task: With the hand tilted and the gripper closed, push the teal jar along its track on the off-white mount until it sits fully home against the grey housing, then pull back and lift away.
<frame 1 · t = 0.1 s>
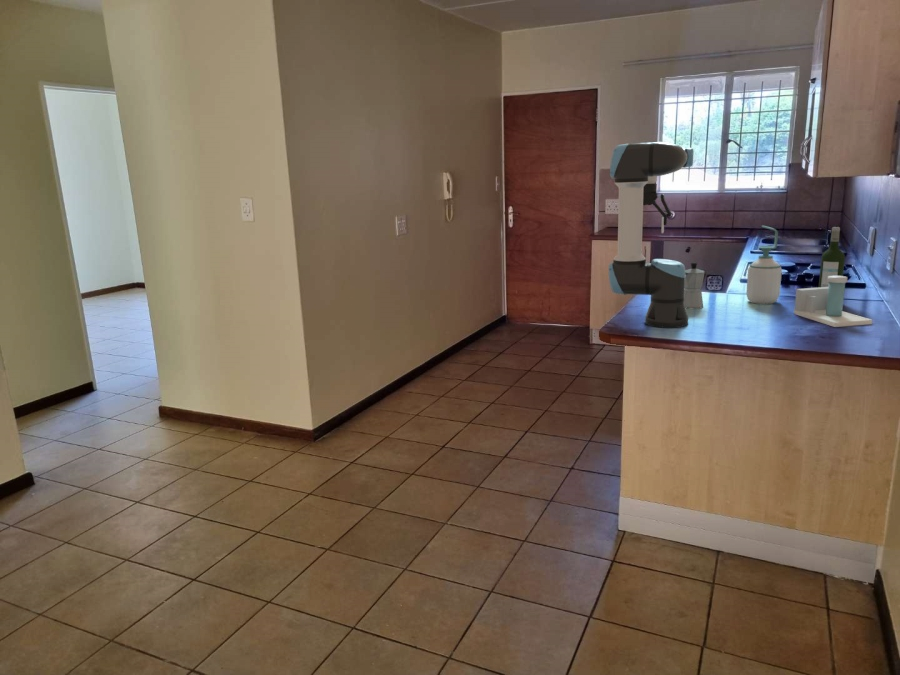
hand: (646, 233, 282), 28 cm above the countertop, tool pointing down, fingers open, 13 cm apart
mount: (833, 319, 234), on the countertop
teal jar: (835, 295, 232), point 9 cm above the countertop, slide at 0.0 cm
coffee maker: (693, 306, 266), on the countertop
soap bottle: (762, 302, 266), on the countertop
wine bottle: (828, 303, 259), on the countertop
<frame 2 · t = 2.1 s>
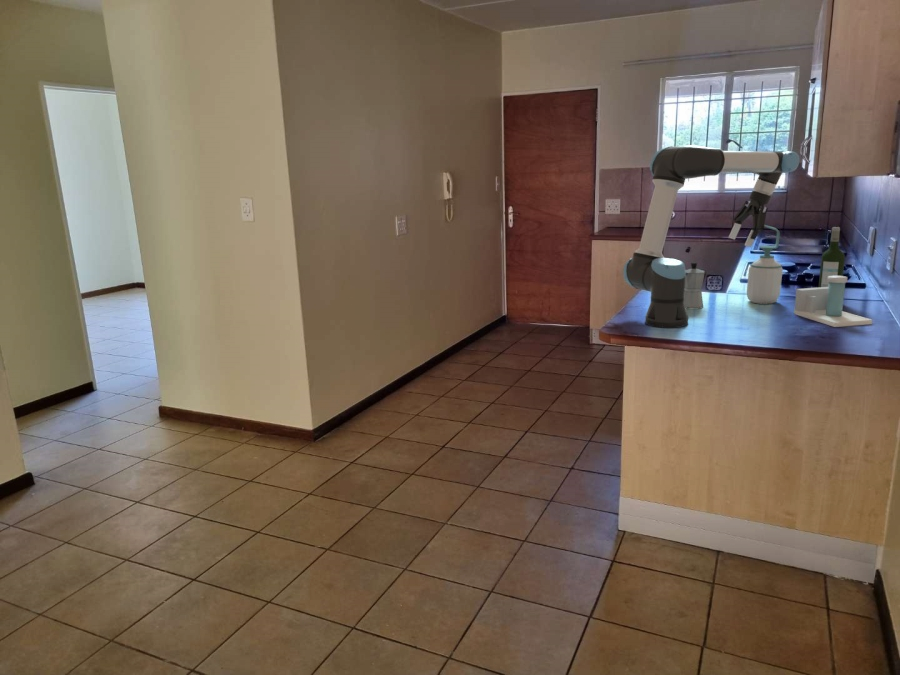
hand: (739, 242, 269), 24 cm above the countertop, tool tilted 20°, fingers open, 13 cm apart
nothing on the countertop moved.
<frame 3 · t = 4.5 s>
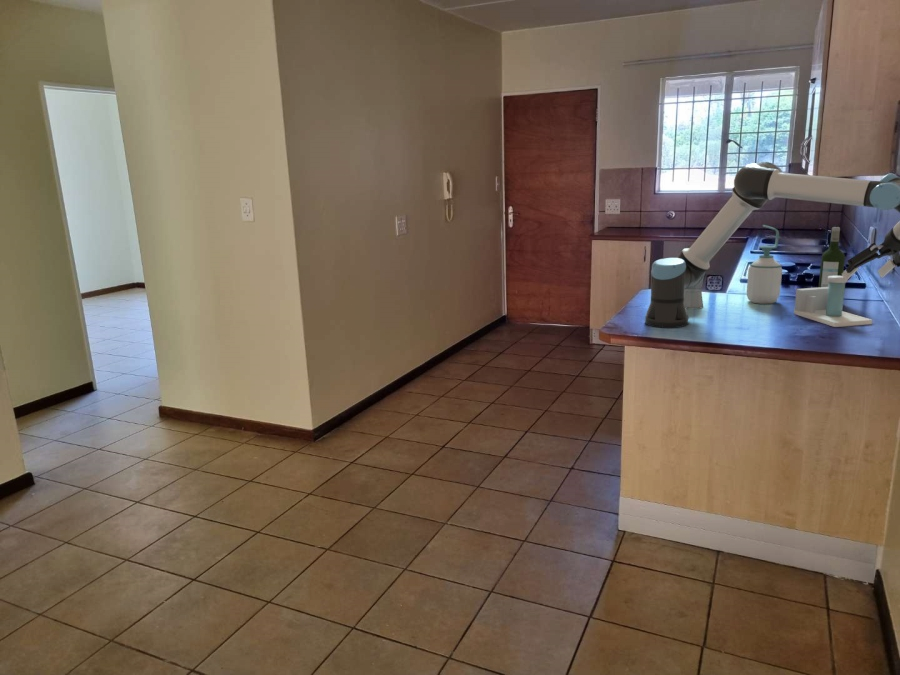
hand: (862, 275, 219), 18 cm above the countertop, tool tilted 45°, fingers open, 12 cm apart
nothing on the countertop moved.
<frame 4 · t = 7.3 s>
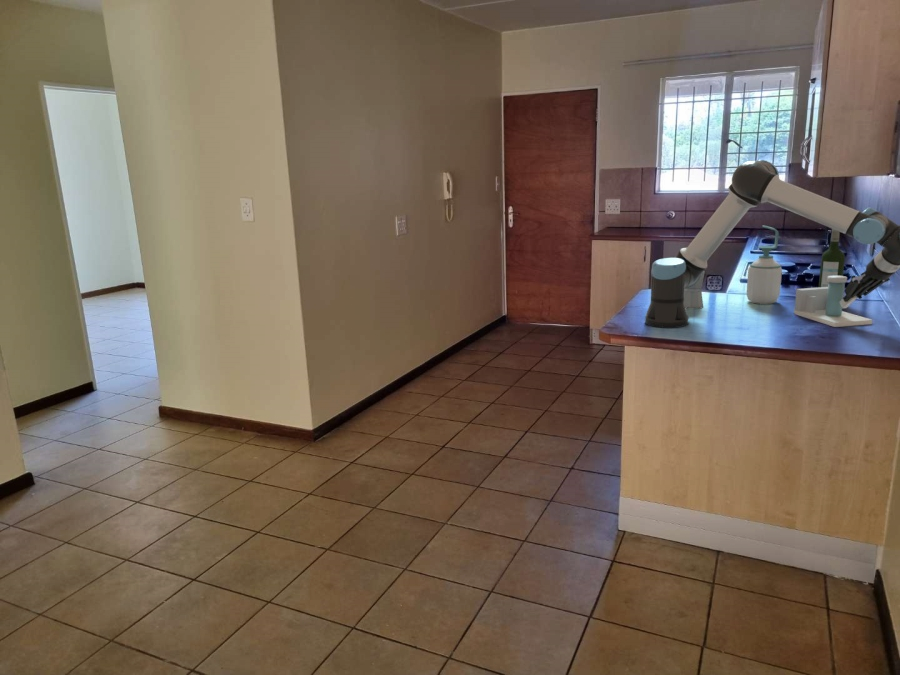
hand: (842, 305, 229), 6 cm above the countertop, tool tilted 45°, fingers closed
teal jar: (835, 295, 232), point 9 cm above the countertop, slide at 0.2 cm, touching gripper
everything else where it was.
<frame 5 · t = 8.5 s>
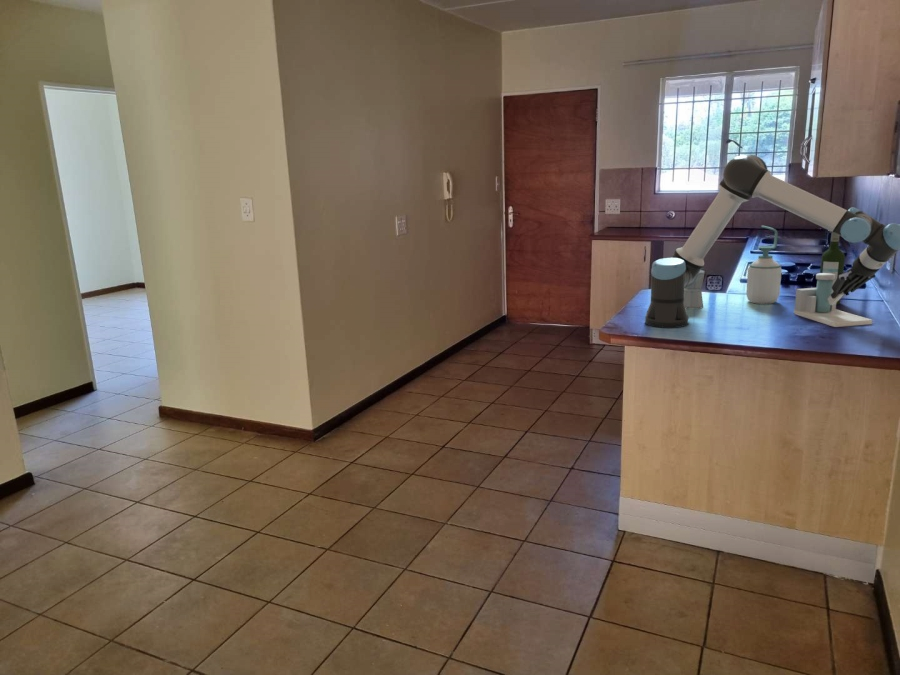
hand: (830, 301, 235), 6 cm above the countertop, tool tilted 45°, fingers closed
teal jar: (823, 292, 238), point 9 cm above the countertop, slide at 6.2 cm, touching gripper
everything else where it was.
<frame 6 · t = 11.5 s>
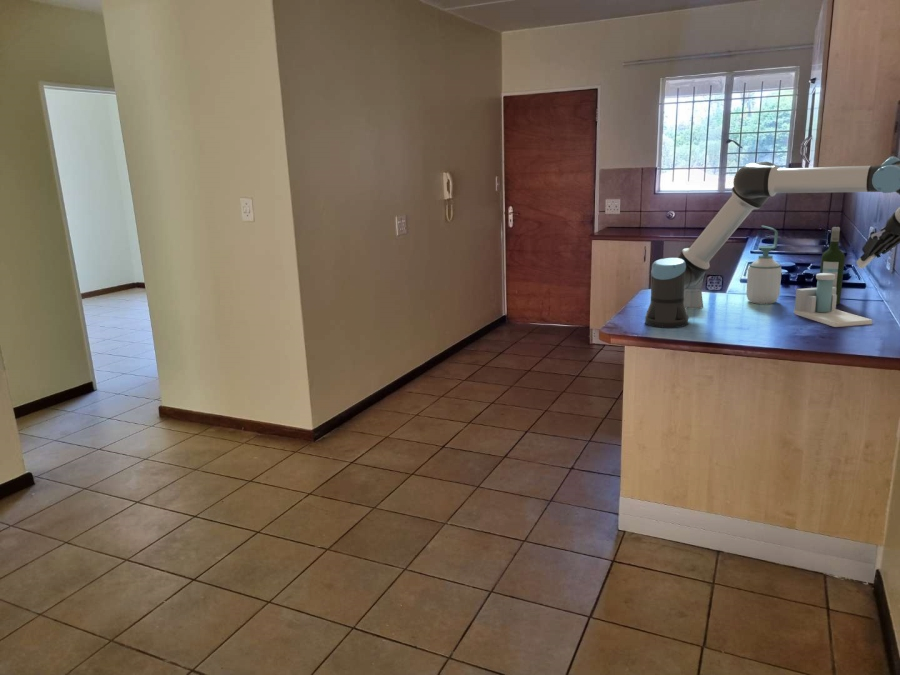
hand: (859, 265, 219), 21 cm above the countertop, tool tilted 45°, fingers closed
teal jar: (824, 292, 237), point 9 cm above the countertop, slide at 6.0 cm
everything else where it was.
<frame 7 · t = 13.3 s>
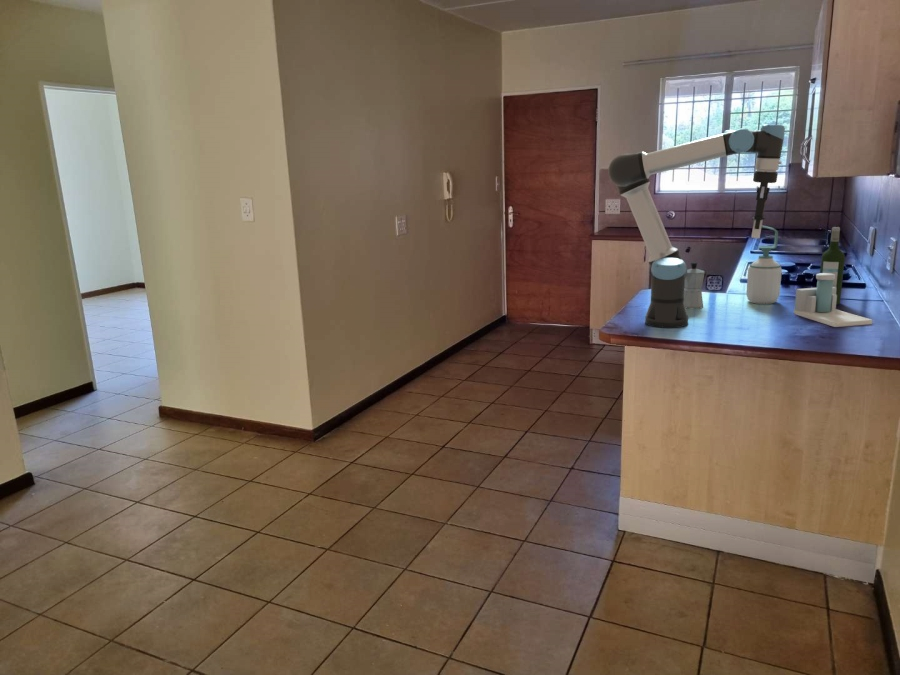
hand: (755, 237, 235), 30 cm above the countertop, tool pointing down, fingers closed
nothing on the countertop moved.
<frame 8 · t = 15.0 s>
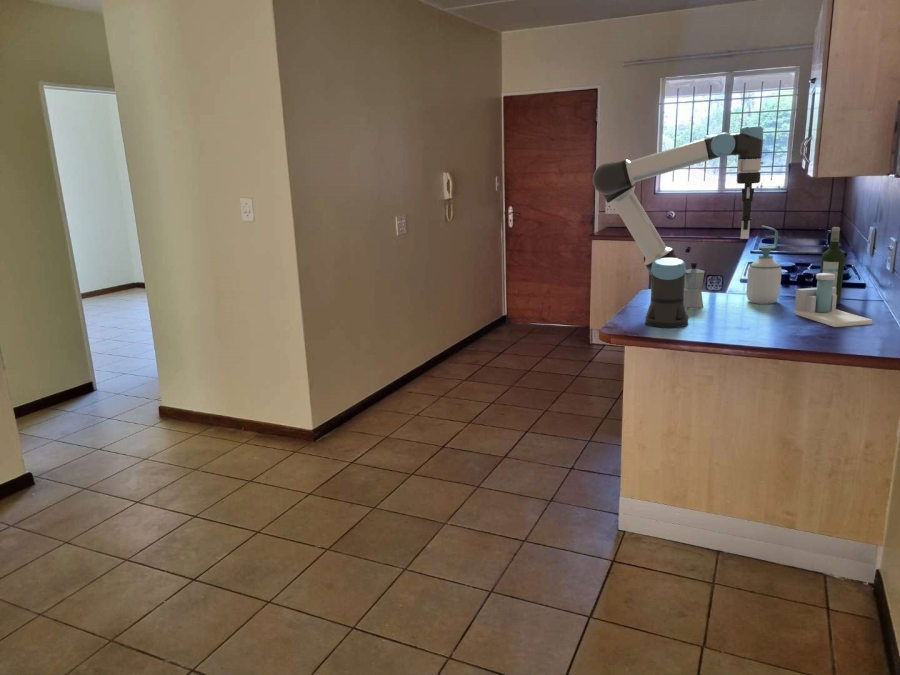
hand: (744, 238, 236), 29 cm above the countertop, tool pointing down, fingers closed
nothing on the countertop moved.
at the end: teal jar slide at 6.0 cm; wine bottle moved 0.2 cm from its start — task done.
